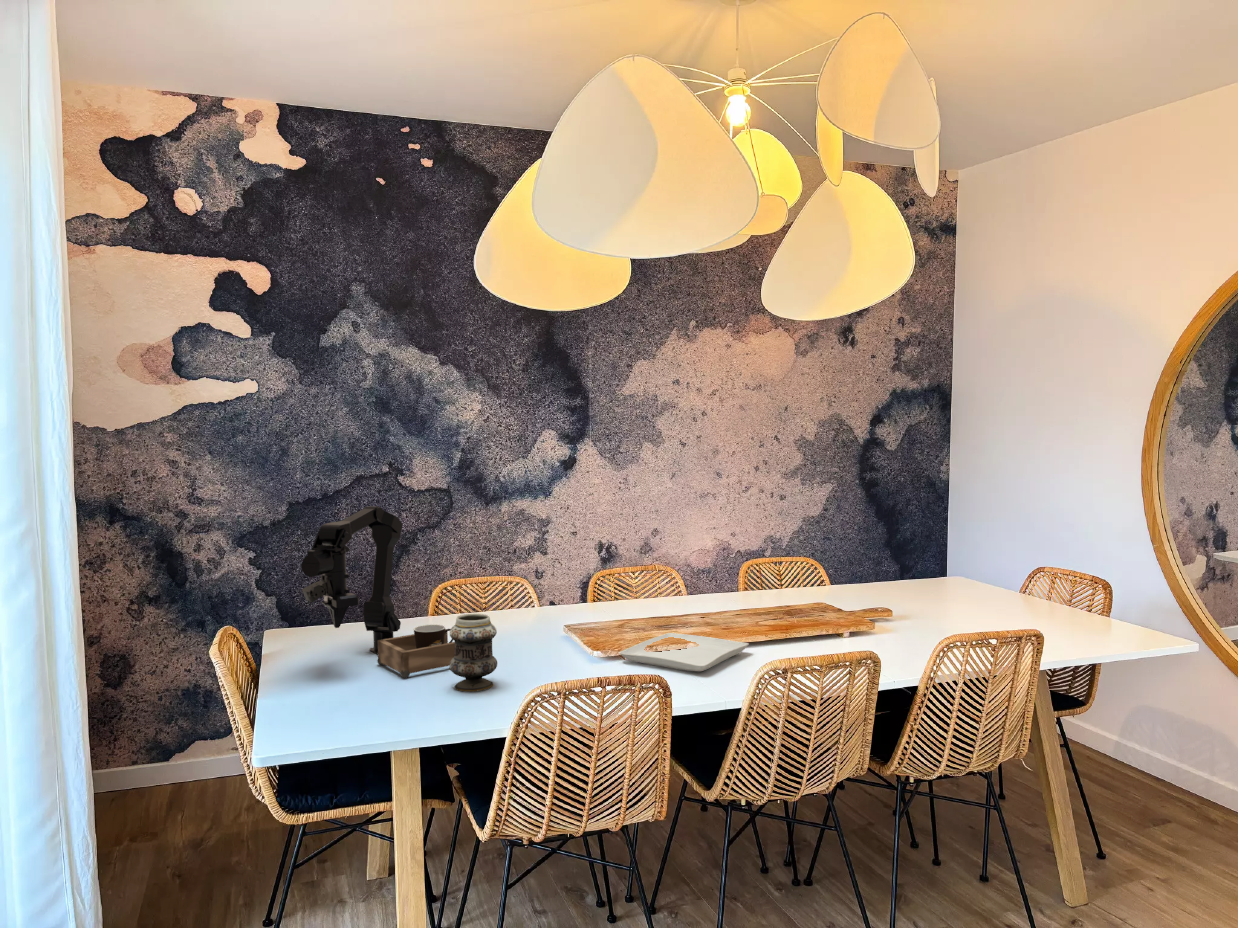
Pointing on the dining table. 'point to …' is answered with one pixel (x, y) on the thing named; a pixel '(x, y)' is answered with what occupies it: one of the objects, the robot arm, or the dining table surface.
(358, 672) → the dining table surface
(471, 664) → the apothecary jar
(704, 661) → the square plate
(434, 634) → the coffee mug
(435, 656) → the caster frame
